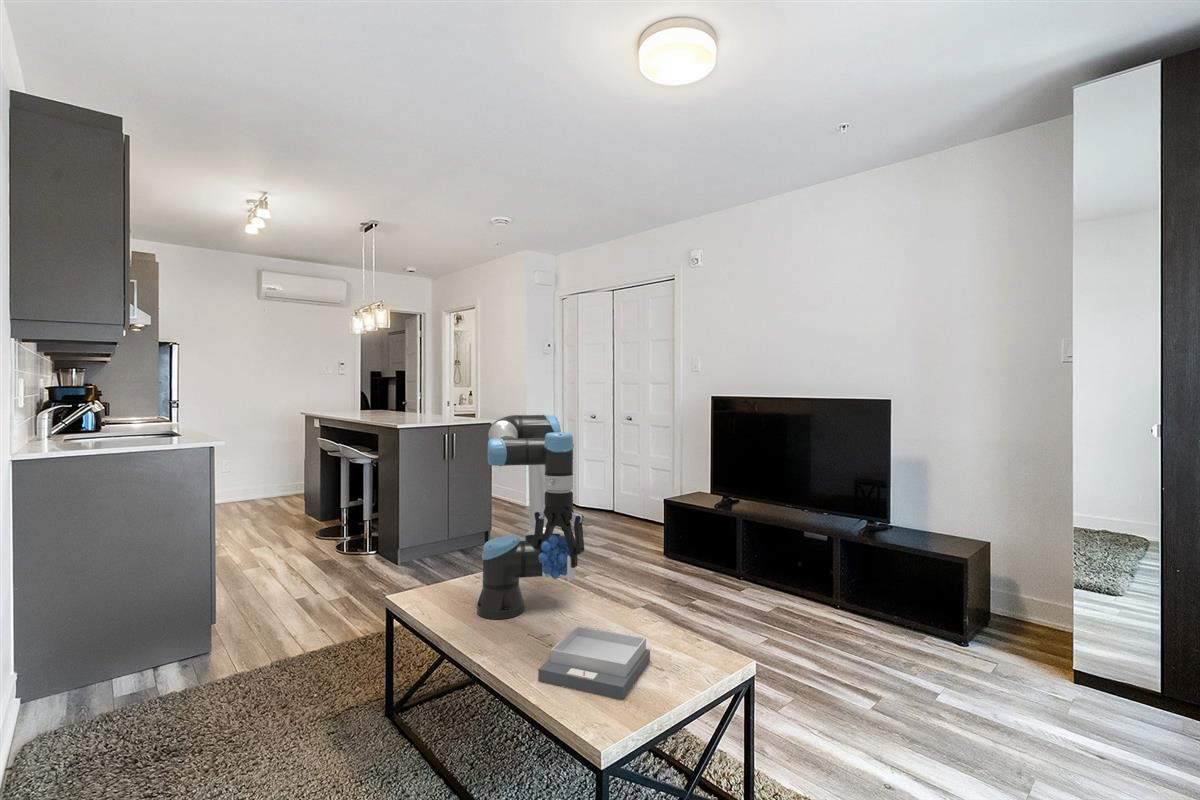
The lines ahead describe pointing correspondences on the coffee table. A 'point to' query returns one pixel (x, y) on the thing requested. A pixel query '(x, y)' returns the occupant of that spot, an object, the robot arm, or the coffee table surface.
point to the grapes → (554, 556)
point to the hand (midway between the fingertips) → (558, 577)
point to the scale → (596, 662)
